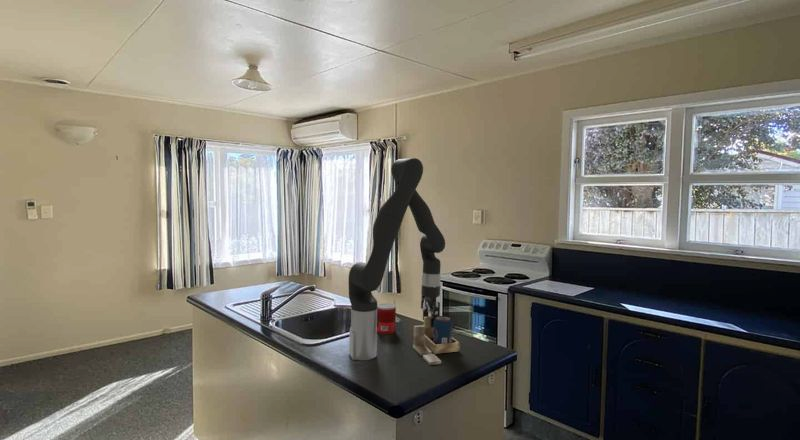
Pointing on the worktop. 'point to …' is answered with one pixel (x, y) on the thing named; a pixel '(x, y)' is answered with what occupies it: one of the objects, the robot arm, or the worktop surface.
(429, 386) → the worktop surface
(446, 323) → the soda can
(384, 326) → the canned food
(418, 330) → the wooden l-shaped bracket
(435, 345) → the wooden caddy
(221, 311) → the worktop surface
